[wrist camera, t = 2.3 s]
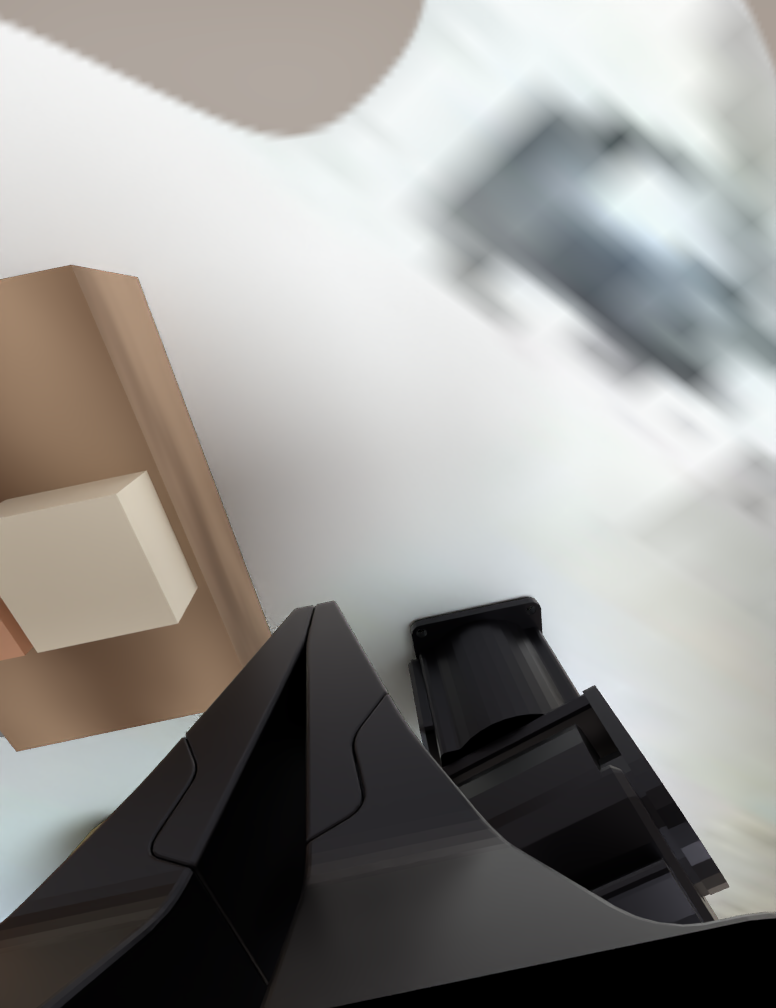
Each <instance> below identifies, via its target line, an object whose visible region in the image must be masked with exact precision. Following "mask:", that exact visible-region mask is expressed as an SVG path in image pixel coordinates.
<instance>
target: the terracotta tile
mask: <svg viewBox="0 0 776 1008" xmlns="http://www.w3.org/2000/svg"><path fill="white" fill-rule="evenodd" d="M32 648H33V645H32V644H31V642H30V641H29V639H28V638H27V636H26V635H25V633H24V632H23V630H22V629H21V627H20V625H19V624H18V622H17V621H16V619H15V618H14V616H13V615H12V613H11V612H10V610H9V609H8V607H7V606H6V604H5V603H4V601H3V600H2V598H1V597H0V661H1V660H6V659H11V658H16V657H20V656H25V655H26V654H27V653H28V652H29V651H30V650H31V649H32Z"/></svg>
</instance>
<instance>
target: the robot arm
mask: <svg viewBox="0 0 776 1008" xmlns="http://www.w3.org/2000/svg"><path fill="white" fill-rule="evenodd" d="M530 606H533V607H532V608H531V609H529V610H526V609H527V608H528V607H530ZM421 629H424V631H423V632H418V631H419V630H421ZM411 634H412V639H413V644H414V648H415V653H416V658H417V659H415V660H411V662H410V663H409V665H408V666H409V671H410V677H411V683H412V688H413V694H414V700H415V705H416V711H417V717H418V722H419V728H420V733H421V737H422V742H423V744H422V743H421V742H420V741H419V739H418V738H417V737H416V735H415V734H414V733H413V731H412V730H411V729H410V727H409V725H408V724H407V722H406V721H405V719H404V718H403V716H402V715H401V713H400V711H399V710H398V708H397V707H396V705H395V703H394V701H393V700H392V698H391V696H390V695H389V693H388V691H387V690H386V688H385V686H384V684H383V683H382V681H381V679H380V678H379V676H378V674H377V672H376V671H375V669H374V667H373V665H372V664H371V662H370V660H369V659H368V657H367V655H366V653H365V652H364V650H363V648H362V646H361V645H360V643H359V641H358V640H357V638H356V636H355V634H354V633H353V631H352V629H351V627H350V626H349V624H348V622H347V620H346V619H345V617H344V615H343V614H342V612H341V610H340V608H339V607H338V605H337V603H336V602H335V601H330V602H325V603H320V604H317V605H316V606H313V605H311V606H306V607H301V608H297V609H295V610H294V611H293V612H292V613H291V614H290V615H289V616H288V617H287V618H286V620H285V621H284V622H283V623H282V624H281V625H280V626H279V628H278V629H277V630H276V631H275V632H274V633H273V634H272V636H271V637H270V638H269V639H268V640H267V641H266V642H265V644H264V645H263V646H262V647H261V648H260V649H259V650H258V652H257V653H256V654H255V655H254V656H253V657H252V658H251V660H250V661H249V662H248V663H247V664H246V665H245V666H244V668H243V669H242V670H241V671H240V672H239V673H238V675H237V676H236V677H235V678H234V679H233V680H232V681H231V683H230V684H229V685H228V686H227V687H226V688H225V689H224V691H223V692H222V693H221V694H220V695H219V696H218V697H217V699H216V700H215V701H214V702H213V703H212V704H211V705H210V707H209V708H208V709H207V710H206V711H205V712H204V713H203V715H202V716H201V717H200V718H199V719H198V720H197V721H196V723H195V724H194V725H193V726H192V727H191V728H190V729H189V731H188V732H187V733H186V738H185V737H183V738H181V740H180V741H179V742H178V743H177V744H176V745H175V746H174V748H173V749H172V750H171V751H170V752H169V753H168V754H167V756H166V757H165V758H164V759H163V760H162V761H161V762H160V763H159V764H158V766H157V767H156V768H155V769H154V770H153V771H152V772H151V773H150V774H149V775H148V777H147V778H146V779H145V780H144V781H143V782H142V783H141V784H140V785H139V786H138V787H137V788H136V789H135V790H134V791H133V793H132V794H131V795H130V796H129V797H128V798H127V799H126V800H125V801H124V802H123V803H122V804H121V805H120V806H119V807H118V808H117V809H116V810H115V811H114V812H113V813H112V814H111V815H110V816H109V817H108V818H107V819H106V820H105V821H104V822H103V823H102V824H101V825H100V826H99V827H98V828H97V829H96V830H95V831H94V832H93V833H92V834H91V835H90V836H89V837H88V838H87V839H86V840H85V841H84V842H83V843H82V844H81V845H80V846H79V847H78V848H77V849H76V850H75V851H74V852H73V853H72V854H71V855H70V856H69V857H68V858H67V859H66V860H65V861H64V862H63V863H62V864H61V865H60V866H59V867H58V868H57V869H56V870H55V871H54V872H53V873H52V874H51V875H50V876H49V877H48V878H47V879H46V880H45V881H44V882H43V883H42V884H41V885H40V886H39V887H38V888H37V889H36V890H35V891H34V892H33V893H32V894H31V895H30V896H29V897H28V898H27V899H26V900H25V901H24V902H23V903H22V904H21V905H20V906H19V907H18V908H17V909H16V910H15V911H14V912H13V913H12V914H11V915H9V916H8V917H7V918H6V919H5V920H4V921H3V922H2V923H0V1008H776V912H760V913H752V914H745V915H739V916H734V917H730V918H725V919H720V920H719V919H718V918H717V916H716V914H715V913H714V911H713V909H712V908H711V906H710V905H709V903H708V901H707V900H706V898H705V897H704V896H706V895H709V894H710V895H712V894H714V893H716V892H719V891H721V890H723V889H726V888H728V887H729V885H728V883H727V882H726V880H725V878H724V877H723V875H722V873H721V872H720V870H719V869H718V867H717V866H716V864H715V863H714V861H713V859H712V858H711V856H710V855H709V853H708V852H707V850H706V849H705V847H704V845H703V844H702V842H701V841H700V839H699V838H698V836H697V835H696V833H695V832H694V830H693V829H692V827H691V826H690V824H689V823H688V821H687V820H686V818H685V817H684V815H683V814H682V812H681V810H680V809H679V807H678V806H677V804H676V803H675V801H674V800H673V798H672V797H671V795H670V794H669V792H668V791H667V789H666V788H665V786H664V785H663V783H662V782H661V781H660V779H659V778H658V776H657V775H656V773H655V772H654V770H653V769H652V767H651V766H650V764H649V763H648V761H647V760H646V758H645V757H644V756H643V754H642V753H641V751H640V750H639V748H638V747H637V745H636V744H635V743H634V741H633V740H632V738H631V737H630V735H629V734H628V732H627V731H626V730H625V728H624V727H623V725H622V724H621V722H620V721H619V719H618V718H617V717H616V715H615V714H614V712H613V711H612V709H611V708H610V706H609V705H608V703H607V702H606V701H605V699H604V698H603V696H602V695H601V693H600V692H599V690H598V689H597V688H596V686H595V685H594V686H592V687H590V688H588V689H586V690H584V691H582V692H583V693H584V694H583V695H581V696H580V695H579V693H578V691H577V690H576V688H575V687H574V685H573V683H572V682H571V680H570V678H569V677H568V675H567V674H566V672H565V670H564V669H563V667H562V665H561V664H560V662H559V661H558V659H557V657H556V656H555V654H554V652H553V651H552V649H551V648H550V646H549V644H548V643H547V641H546V639H545V638H544V636H543V635H542V619H541V607H540V605H539V603H538V602H537V601H536V600H535V599H534V598H531V597H530V598H523V599H518V600H514V601H509V602H504V603H499V604H495V605H490V606H485V607H480V608H476V609H471V610H466V611H461V612H456V613H452V614H447V615H442V616H437V617H433V618H428V619H423V620H419V621H416V622H414V623H413V624H412V626H411Z"/></svg>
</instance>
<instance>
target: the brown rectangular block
mask: <svg viewBox="0 0 776 1008" xmlns="http://www.w3.org/2000/svg"><path fill="white" fill-rule="evenodd" d="M142 471H147V472H148V475H149V477H150V479H151V481H152V484H153V486H154V488H155V491H156V493H157V495H158V498H159V500H160V502H161V504H162V507H163V509H164V511H165V514H166V516H167V518H168V520H169V523H170V525H171V527H172V530H173V532H174V534H175V536H176V539H177V541H178V543H179V546H180V548H181V550H182V552H183V555H184V557H185V559H186V562H187V564H188V566H189V568H190V571H191V573H192V575H193V578H194V580H195V582H196V584H197V587H198V588H197V590H196V592H195V594H194V595H193V597H192V599H191V601H190V603H189V605H188V606H187V608H186V610H185V612H184V614H183V616H182V617H181V619H180V621H179V623H178V624H173V625H169V626H164V627H159V628H154V629H149V630H145V631H140V632H135V633H130V634H126V635H121V636H116V637H111V638H106V639H102V640H97V641H92V642H87V643H83V644H78V645H73V646H68V647H63V648H59V649H54V650H49V651H44V652H39V653H37V651H36V650H35V648H34V647H33V648H32V649H31V650H30V651H29V652H28V653H27V654H26V655H25V656H20V657H16V658H11V659H6V660H1V661H0V731H1V733H2V734H3V735H4V736H5V738H6V739H7V740H8V741H9V743H10V744H11V745H12V747H13V748H14V749H15V750H16V752H17V751H22V750H27V749H31V748H36V747H41V746H46V745H50V744H55V743H60V742H65V741H69V740H74V739H79V738H84V737H88V736H93V735H98V734H103V733H108V732H112V731H117V730H122V729H127V728H131V727H136V726H141V725H146V724H150V723H155V722H160V721H165V720H169V719H174V718H179V717H184V716H188V715H193V714H198V713H203V712H205V711H206V710H207V709H208V708H209V707H210V705H211V704H212V703H213V702H214V701H215V700H216V699H217V697H218V696H219V695H220V694H221V693H222V692H223V691H224V689H225V688H226V687H227V686H228V685H229V684H230V683H231V681H232V680H233V679H234V678H235V677H236V676H237V675H238V673H239V672H240V671H241V670H242V669H243V668H244V666H245V665H246V664H247V663H248V662H249V661H250V660H251V658H252V657H253V656H254V655H255V654H256V653H257V652H258V650H259V649H260V648H261V647H262V646H263V645H264V644H265V642H266V641H267V640H268V639H269V638H270V637H271V636H272V635H271V632H270V629H269V627H268V624H267V621H266V619H265V616H264V613H263V611H262V608H261V605H260V603H259V600H258V597H257V595H256V592H255V589H254V587H253V584H252V581H251V579H250V576H249V573H248V571H247V568H246V565H245V563H244V560H243V557H242V555H241V552H240V549H239V547H238V544H237V541H236V539H235V536H234V533H233V531H232V528H231V525H230V523H229V520H228V517H227V515H226V512H225V509H224V507H223V504H222V501H221V499H220V496H219V493H218V491H217V488H216V485H215V483H214V480H213V477H212V475H211V472H210V469H209V467H208V464H207V461H206V459H205V456H204V453H203V451H202V448H201V445H200V443H199V440H198V437H197V435H196V432H195V429H194V427H193V424H192V421H191V419H190V416H189V413H188V411H187V408H186V405H185V403H184V400H183V397H182V395H181V392H180V389H179V387H178V384H177V381H176V379H175V376H174V373H173V371H172V368H171V365H170V363H169V360H168V357H167V355H166V352H165V349H164V347H163V344H162V341H161V339H160V336H159V333H158V331H157V328H156V325H155V323H154V320H153V317H152V315H151V312H150V309H149V307H148V304H147V301H146V299H145V296H144V293H143V291H142V288H141V285H140V283H139V280H138V277H133V276H128V275H123V274H117V273H112V272H106V271H101V270H96V269H90V268H85V267H80V266H74V265H68V266H63V267H58V268H54V269H49V270H44V271H39V272H34V273H29V274H24V275H19V276H15V277H10V278H5V279H0V503H1V502H3V501H5V500H7V499H12V498H16V497H21V496H26V495H31V494H36V493H40V492H45V491H50V490H55V489H60V488H65V487H69V486H74V485H79V484H84V483H89V482H93V481H98V480H103V479H108V478H113V477H118V476H122V475H127V474H132V473H137V472H142Z"/></svg>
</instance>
